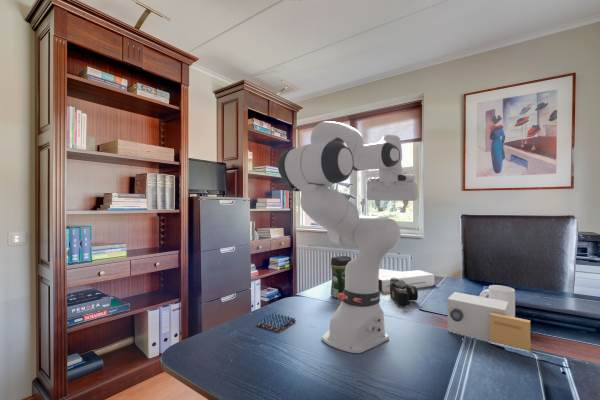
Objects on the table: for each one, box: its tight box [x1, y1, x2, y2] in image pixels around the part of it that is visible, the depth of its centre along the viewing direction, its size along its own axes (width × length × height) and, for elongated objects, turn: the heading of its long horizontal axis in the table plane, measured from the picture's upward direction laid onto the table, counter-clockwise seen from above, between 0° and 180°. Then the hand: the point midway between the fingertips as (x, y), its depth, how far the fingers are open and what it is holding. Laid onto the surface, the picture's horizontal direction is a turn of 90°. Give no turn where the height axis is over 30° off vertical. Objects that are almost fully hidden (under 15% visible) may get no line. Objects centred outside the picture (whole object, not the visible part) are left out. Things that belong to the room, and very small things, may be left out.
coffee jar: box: [330, 255, 352, 299], centre depth 135 cm, size 10×8×19 cm
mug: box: [479, 284, 516, 317], centre depth 110 cm, size 8×12×12 cm
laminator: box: [378, 269, 436, 293], centre depth 153 cm, size 34×12×6 cm, turn 112°
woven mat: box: [257, 312, 297, 333], centre depth 104 cm, size 10×11×2 cm
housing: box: [446, 291, 509, 341], centre depth 96 cm, size 12×16×11 cm
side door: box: [490, 312, 531, 352], centre depth 86 cm, size 2×10×9 cm, turn 50°
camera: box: [389, 277, 419, 309], centre depth 128 cm, size 16×10×10 cm, turn 179°
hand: (391, 211), depth 116 cm, fingers open, 8 cm apart
